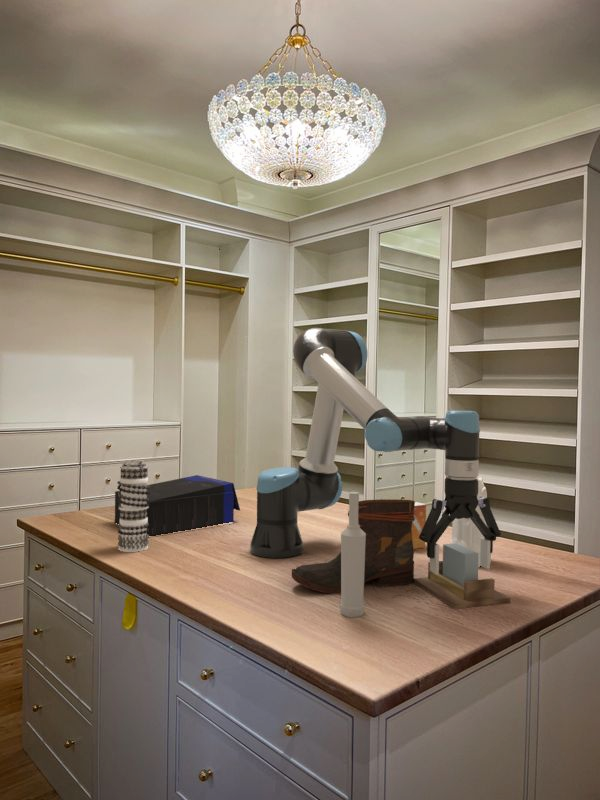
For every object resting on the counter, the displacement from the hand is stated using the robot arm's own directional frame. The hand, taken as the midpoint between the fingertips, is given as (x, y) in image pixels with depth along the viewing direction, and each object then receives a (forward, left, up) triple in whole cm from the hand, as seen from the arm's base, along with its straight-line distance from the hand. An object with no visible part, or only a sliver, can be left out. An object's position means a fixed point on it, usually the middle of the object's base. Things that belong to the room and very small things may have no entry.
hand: (459, 569), depth 137 cm
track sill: (0, 0, -5) cm, 5 cm away
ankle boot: (-21, +13, -5) cm, 25 cm away
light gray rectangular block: (0, 0, -4) cm, 4 cm away
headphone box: (-54, +89, -6) cm, 104 cm away
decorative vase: (+17, +21, -5) cm, 28 cm away
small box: (+8, +39, -5) cm, 40 cm away
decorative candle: (-70, +59, -5) cm, 92 cm away
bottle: (-29, -5, -5) cm, 30 cm away
